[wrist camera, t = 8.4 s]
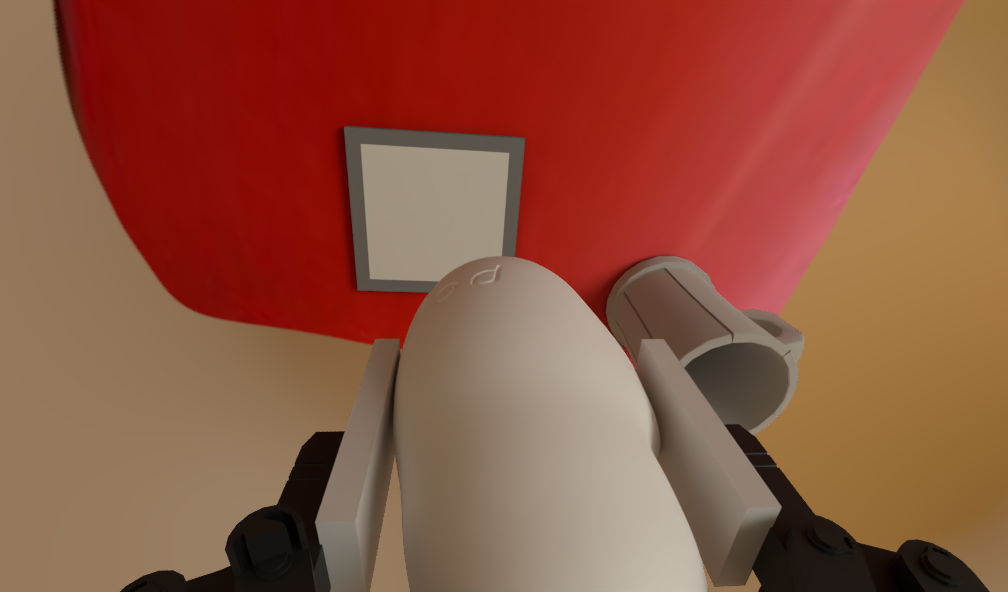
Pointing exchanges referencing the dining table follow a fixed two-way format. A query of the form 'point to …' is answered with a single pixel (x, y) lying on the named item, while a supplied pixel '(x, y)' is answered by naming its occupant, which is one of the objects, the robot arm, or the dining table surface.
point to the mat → (429, 203)
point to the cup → (709, 339)
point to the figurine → (530, 446)
